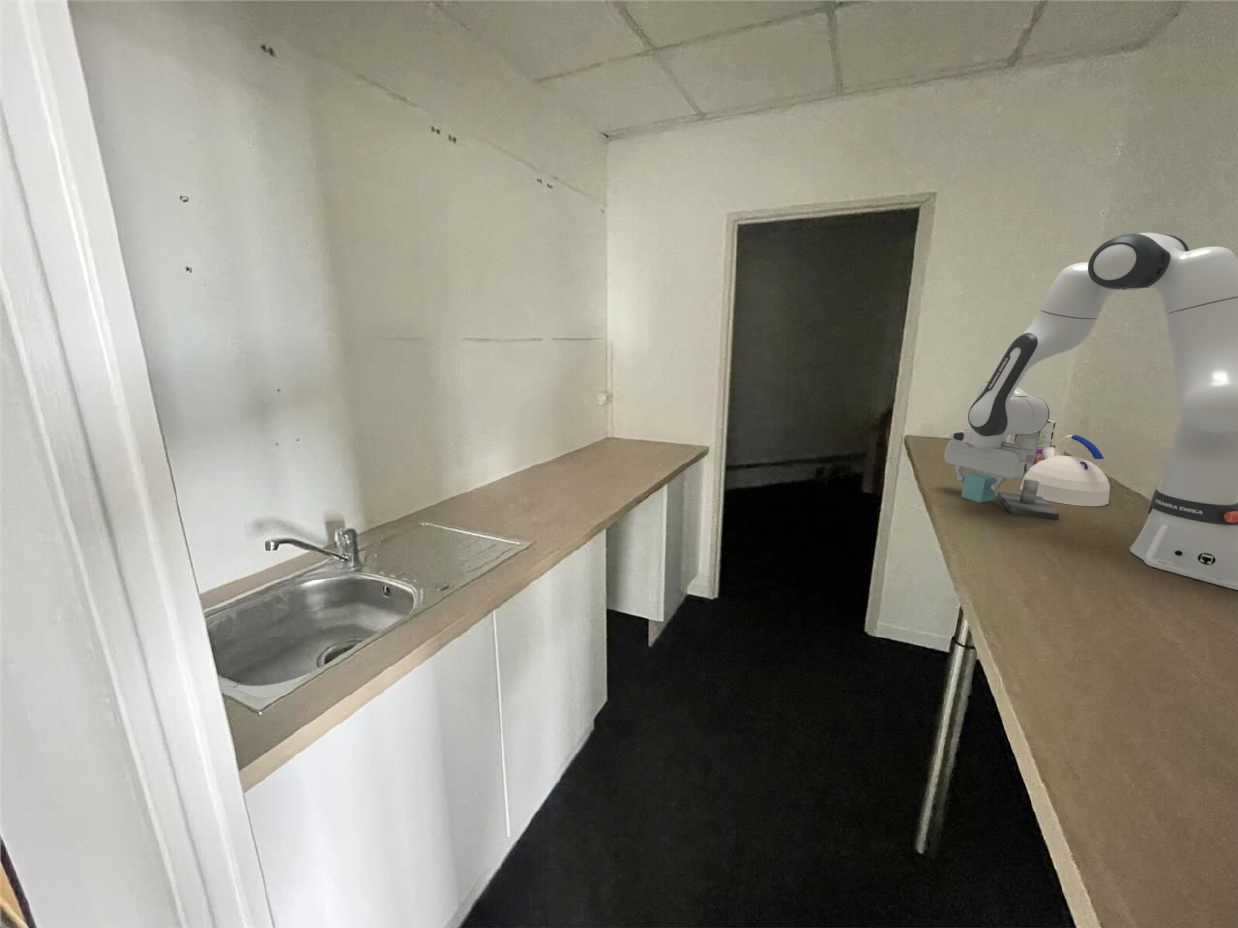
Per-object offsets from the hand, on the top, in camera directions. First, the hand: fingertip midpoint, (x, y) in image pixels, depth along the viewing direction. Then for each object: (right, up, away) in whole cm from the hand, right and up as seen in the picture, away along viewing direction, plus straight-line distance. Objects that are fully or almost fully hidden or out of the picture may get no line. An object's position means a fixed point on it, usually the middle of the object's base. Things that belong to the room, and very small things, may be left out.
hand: (977, 485), depth 149 cm
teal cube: (+1, -4, +1) cm, 4 cm away
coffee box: (+32, +3, +26) cm, 41 cm away
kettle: (+28, -3, +5) cm, 29 cm away
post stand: (+9, -6, -6) cm, 12 cm away
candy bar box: (+43, +6, +38) cm, 58 cm away
